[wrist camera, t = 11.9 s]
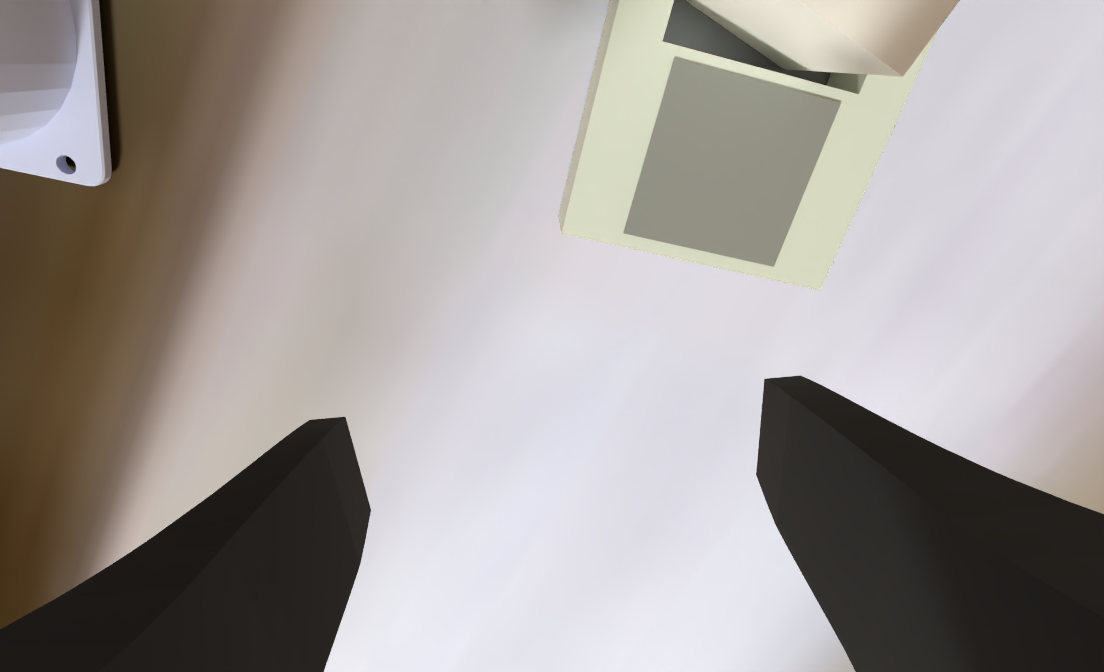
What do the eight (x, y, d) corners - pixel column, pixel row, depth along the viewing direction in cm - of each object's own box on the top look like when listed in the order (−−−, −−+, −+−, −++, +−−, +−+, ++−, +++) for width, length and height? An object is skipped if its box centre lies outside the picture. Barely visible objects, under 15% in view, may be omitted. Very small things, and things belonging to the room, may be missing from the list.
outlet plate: (558, 216, 19) (561, 234, 17) (679, -289, 14) (703, -343, 12) (793, 268, 20) (821, 291, 18) (984, -182, 15) (1050, -216, 13)
